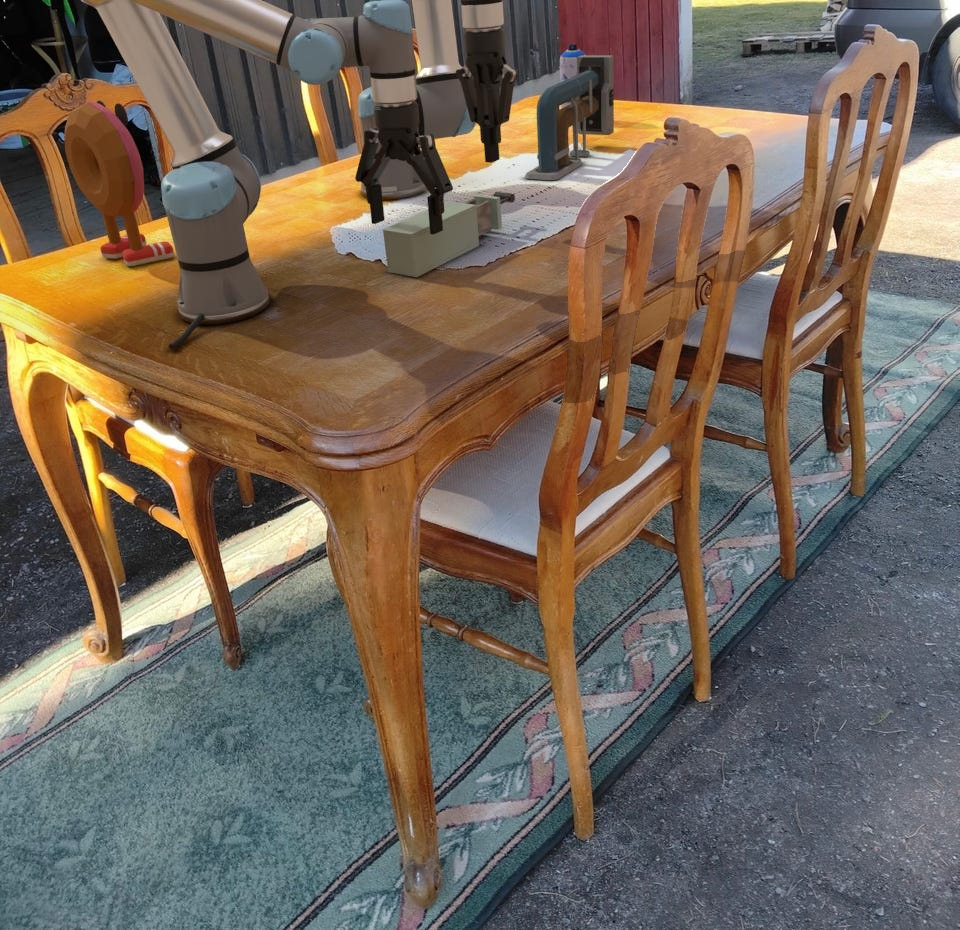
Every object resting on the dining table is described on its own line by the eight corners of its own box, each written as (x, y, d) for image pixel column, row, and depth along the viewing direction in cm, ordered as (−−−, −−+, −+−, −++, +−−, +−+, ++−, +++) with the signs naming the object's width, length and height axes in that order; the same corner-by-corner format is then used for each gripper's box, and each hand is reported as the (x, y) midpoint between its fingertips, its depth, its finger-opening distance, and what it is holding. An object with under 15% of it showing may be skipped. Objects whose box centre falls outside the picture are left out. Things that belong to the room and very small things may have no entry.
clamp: (556, 180, 222) (553, 82, 211) (522, 178, 225) (517, 81, 215) (613, 144, 247) (613, 55, 237) (582, 143, 251) (580, 55, 240)
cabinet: (451, 241, 189) (447, 201, 185) (479, 245, 186) (476, 204, 182) (388, 272, 176) (382, 229, 172) (416, 277, 173) (411, 233, 169)
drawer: (496, 216, 198) (494, 186, 195) (519, 219, 195) (517, 189, 192) (423, 251, 182) (419, 219, 179) (446, 255, 179) (443, 223, 176)
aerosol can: (559, 122, 275) (557, 47, 265) (562, 117, 282) (559, 42, 272) (587, 121, 274) (585, 45, 263) (589, 115, 280) (587, 41, 270)
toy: (187, 258, 192) (149, 99, 177) (141, 273, 186) (98, 110, 171) (132, 241, 205) (93, 92, 190) (88, 254, 199) (43, 101, 184)
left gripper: (468, 103, 158) (475, 230, 169) (355, 93, 171) (368, 212, 182) (440, 112, 153) (449, 242, 164) (326, 101, 166) (341, 223, 177)
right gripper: (524, 25, 175) (531, 158, 187) (467, 25, 182) (476, 153, 194) (501, 32, 170) (509, 168, 182) (442, 31, 177) (454, 162, 189)
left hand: (406, 227), depth 173 cm, fingers open, 13 cm apart
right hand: (492, 160), depth 188 cm, fingers closed
